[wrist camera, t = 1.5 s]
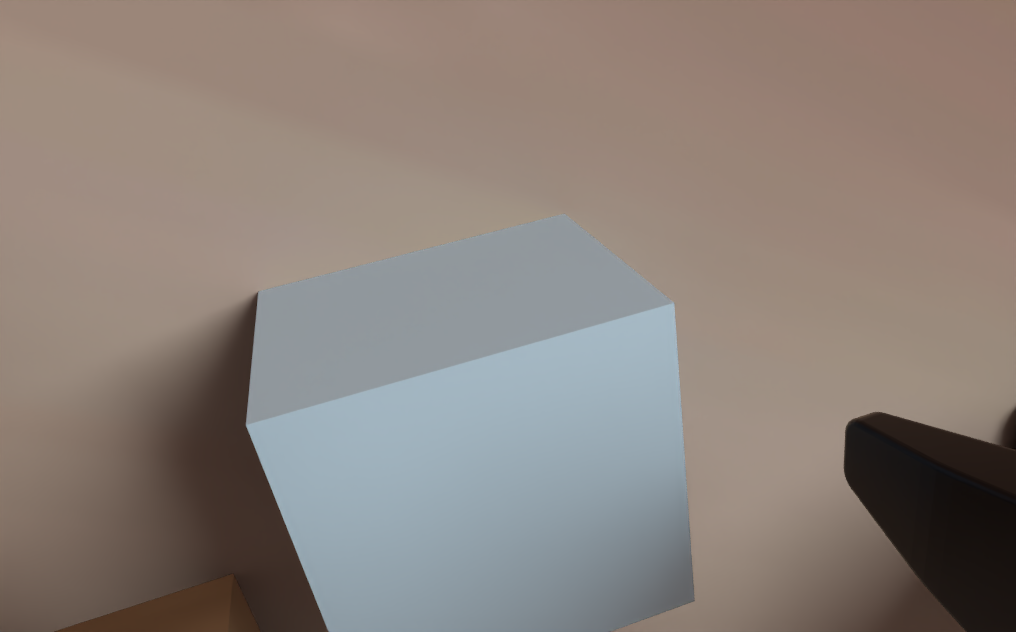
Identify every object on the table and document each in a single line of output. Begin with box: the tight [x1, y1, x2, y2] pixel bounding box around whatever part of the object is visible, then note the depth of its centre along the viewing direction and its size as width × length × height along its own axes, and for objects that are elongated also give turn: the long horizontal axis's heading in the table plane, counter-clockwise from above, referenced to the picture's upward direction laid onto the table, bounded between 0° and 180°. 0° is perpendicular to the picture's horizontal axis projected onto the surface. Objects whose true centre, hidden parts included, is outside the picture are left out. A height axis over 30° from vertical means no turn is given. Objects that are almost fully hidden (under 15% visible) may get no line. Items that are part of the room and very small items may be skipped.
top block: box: [246, 214, 695, 632], centre depth 11 cm, size 5×5×4 cm
